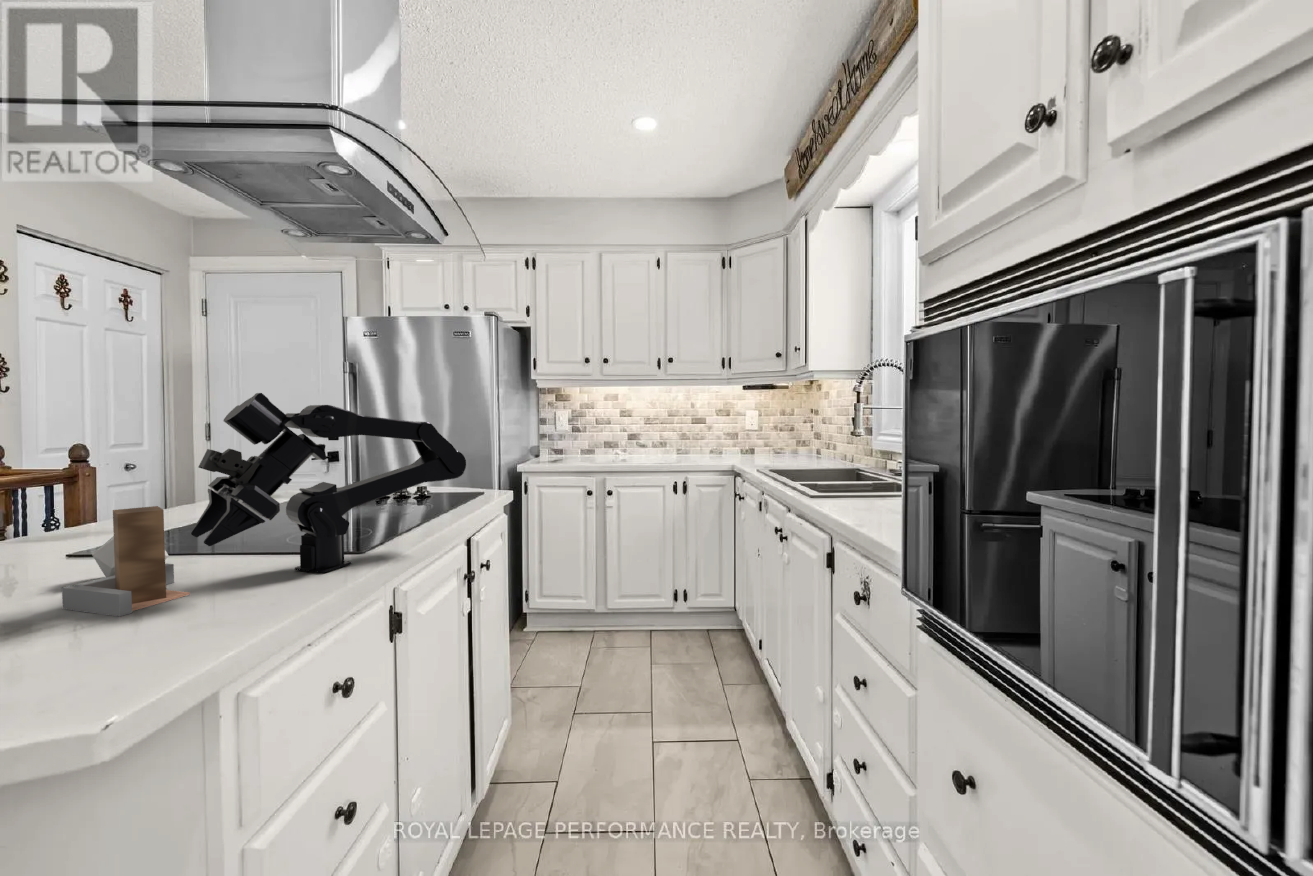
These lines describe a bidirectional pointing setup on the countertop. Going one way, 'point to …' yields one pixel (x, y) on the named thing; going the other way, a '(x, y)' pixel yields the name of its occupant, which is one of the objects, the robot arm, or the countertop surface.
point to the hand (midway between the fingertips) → (199, 540)
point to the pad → (169, 596)
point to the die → (108, 558)
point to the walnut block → (140, 552)
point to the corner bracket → (103, 596)
